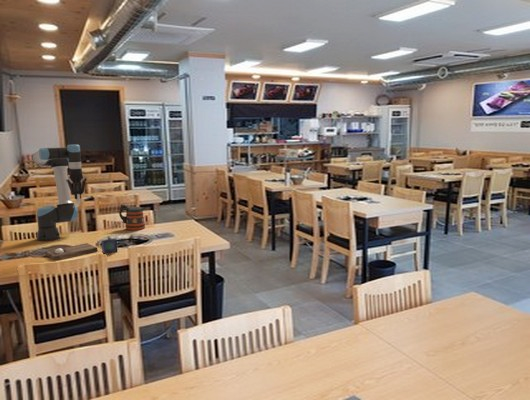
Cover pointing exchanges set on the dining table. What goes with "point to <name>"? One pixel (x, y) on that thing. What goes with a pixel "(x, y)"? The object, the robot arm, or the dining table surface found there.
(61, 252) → the ball
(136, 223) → the beer stein
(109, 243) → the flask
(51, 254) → the board
